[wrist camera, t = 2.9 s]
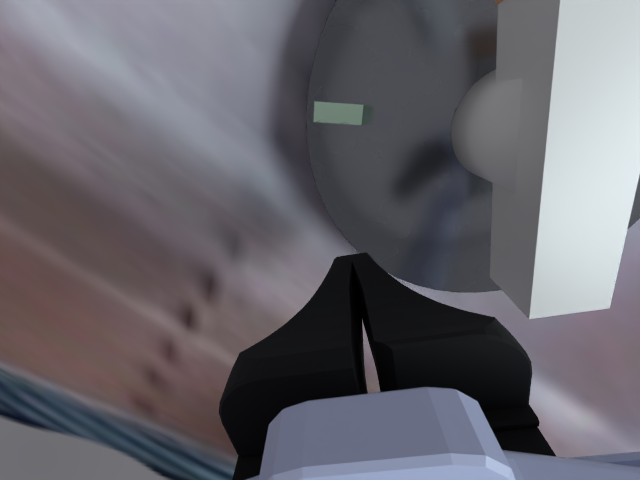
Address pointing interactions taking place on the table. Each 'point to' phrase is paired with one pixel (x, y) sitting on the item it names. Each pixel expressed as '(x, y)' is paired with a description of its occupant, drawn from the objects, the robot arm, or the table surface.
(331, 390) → the robot arm
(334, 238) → the table surface
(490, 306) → the table surface
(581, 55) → the white bar
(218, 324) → the table surface
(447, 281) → the flange
